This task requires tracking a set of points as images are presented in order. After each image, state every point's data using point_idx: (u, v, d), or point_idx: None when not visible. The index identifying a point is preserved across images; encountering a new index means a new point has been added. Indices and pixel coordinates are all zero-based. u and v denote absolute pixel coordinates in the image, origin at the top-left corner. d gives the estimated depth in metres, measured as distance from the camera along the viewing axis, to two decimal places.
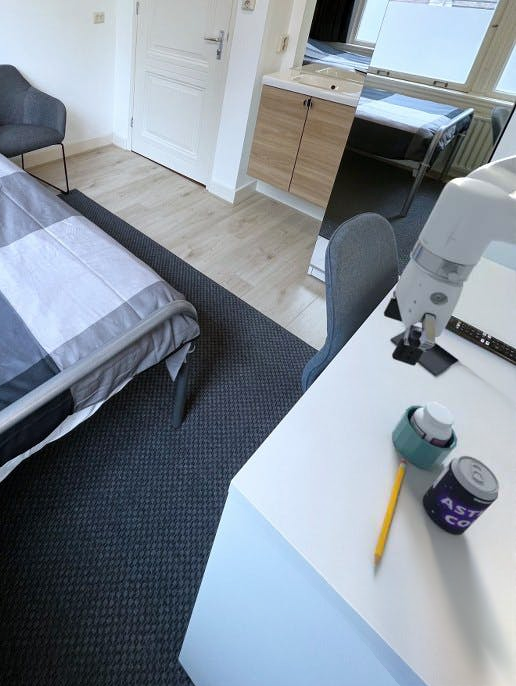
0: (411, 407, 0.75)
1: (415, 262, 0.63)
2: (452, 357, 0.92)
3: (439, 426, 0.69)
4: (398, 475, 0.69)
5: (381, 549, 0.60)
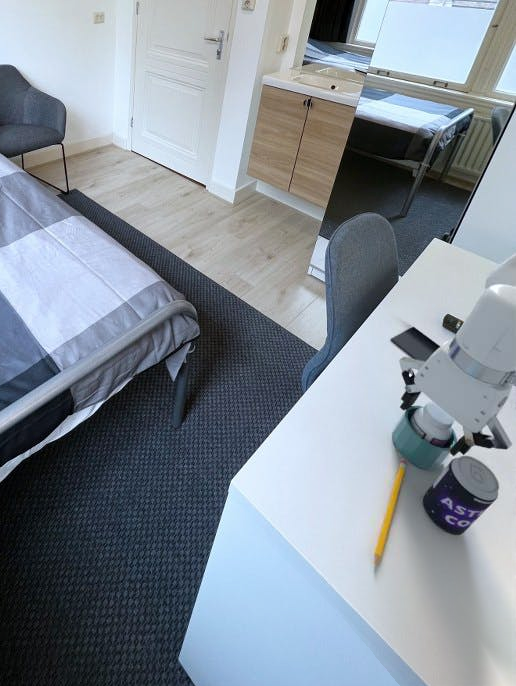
0: (411, 407, 0.75)
1: (475, 379, 0.61)
2: None
3: (439, 426, 0.69)
4: (398, 475, 0.69)
5: (381, 549, 0.60)
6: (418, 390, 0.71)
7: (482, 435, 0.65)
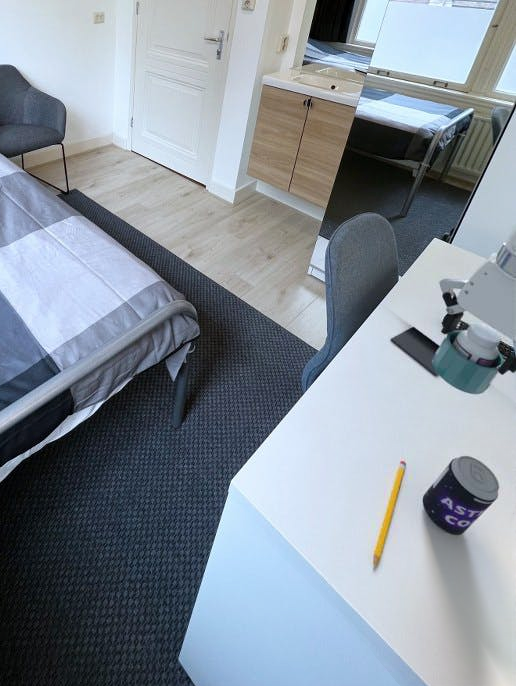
0: (452, 332, 0.71)
1: None
2: None
3: (486, 345, 0.65)
4: (397, 476, 0.70)
5: (380, 550, 0.60)
6: (461, 310, 0.68)
7: None
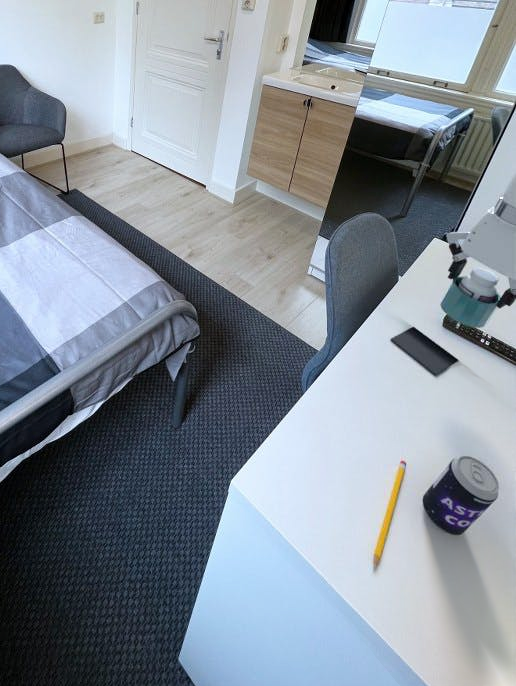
0: (457, 277, 0.84)
1: None
2: (452, 357, 0.92)
3: (486, 284, 0.78)
4: (398, 476, 0.70)
5: (380, 550, 0.60)
6: (465, 257, 0.80)
7: None
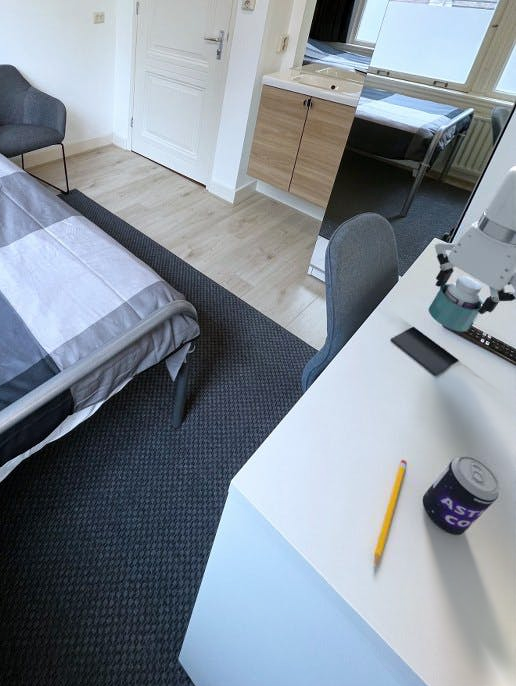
0: (444, 285, 0.91)
1: (500, 242, 0.78)
2: (452, 357, 0.92)
3: (469, 291, 0.85)
4: (398, 475, 0.69)
5: (381, 549, 0.60)
6: (451, 266, 0.88)
7: (505, 293, 0.81)
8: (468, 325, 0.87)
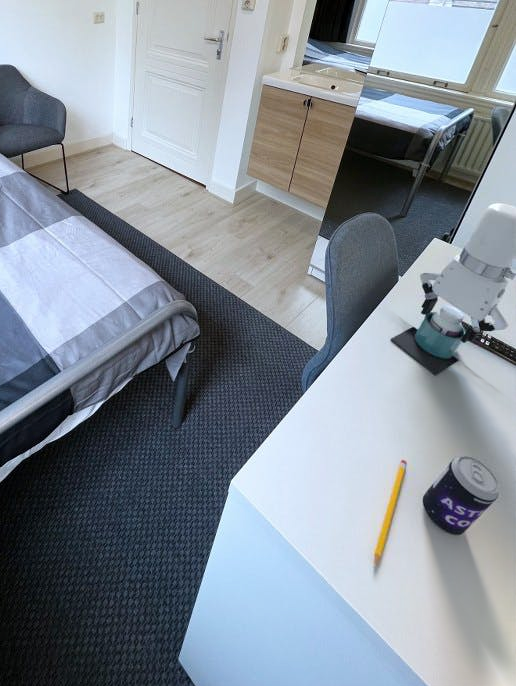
0: (429, 313, 0.95)
1: (480, 276, 0.81)
2: (452, 357, 0.92)
3: (452, 321, 0.89)
4: (398, 475, 0.69)
5: (381, 549, 0.60)
6: (435, 296, 0.91)
7: (486, 323, 0.85)
8: (452, 353, 0.90)
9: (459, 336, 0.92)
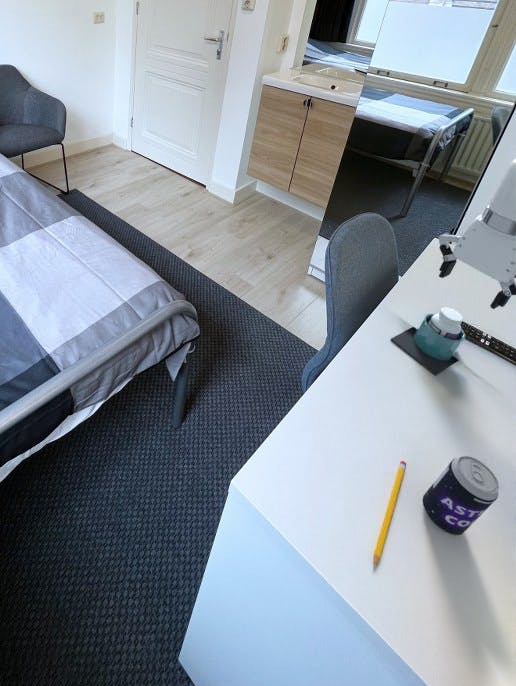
0: (429, 314, 0.95)
1: (505, 234, 0.77)
2: (452, 357, 0.92)
3: (451, 323, 0.89)
4: (397, 476, 0.70)
5: (380, 550, 0.60)
6: (454, 257, 0.87)
7: None
8: (450, 354, 0.91)
9: (458, 338, 0.92)
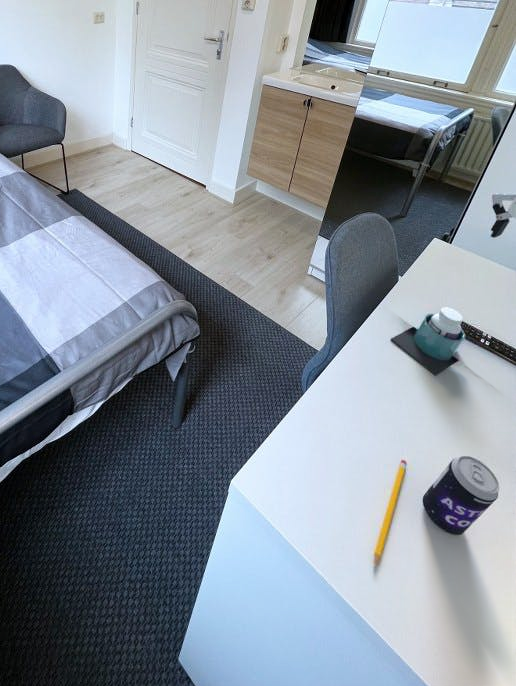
0: (429, 314, 0.95)
1: None
2: (452, 357, 0.92)
3: (451, 323, 0.89)
4: (398, 475, 0.69)
5: (381, 549, 0.60)
6: (509, 215, 0.86)
7: None
8: (450, 354, 0.91)
9: (458, 338, 0.92)
